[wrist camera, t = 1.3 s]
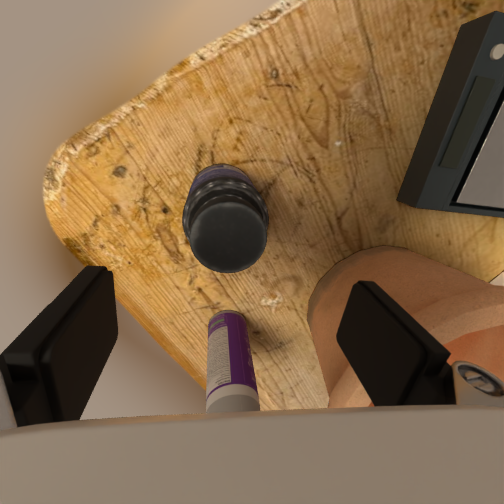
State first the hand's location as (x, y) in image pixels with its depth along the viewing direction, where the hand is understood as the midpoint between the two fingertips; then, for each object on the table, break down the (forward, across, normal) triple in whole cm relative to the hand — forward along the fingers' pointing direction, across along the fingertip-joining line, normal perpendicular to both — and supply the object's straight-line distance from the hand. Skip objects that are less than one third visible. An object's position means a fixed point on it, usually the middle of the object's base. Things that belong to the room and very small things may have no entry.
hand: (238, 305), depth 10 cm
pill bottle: (+17, 0, 0) cm, 17 cm away
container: (+18, -2, +16) cm, 23 cm away
